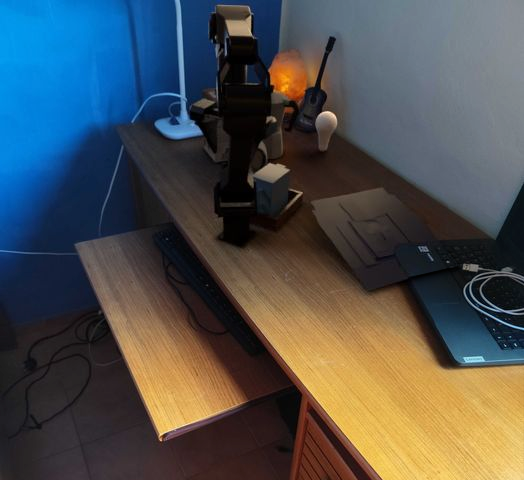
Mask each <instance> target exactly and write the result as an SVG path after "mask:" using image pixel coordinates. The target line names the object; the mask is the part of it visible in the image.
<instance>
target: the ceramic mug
mask: <svg viewBox="0 0 524 480" xmlns="http://www.w3.org/2000/svg"><path fill="white" fill-rule="evenodd" d="M266 165H268V159H267V151H266V147H265V145H264V143H263V142H262V141H261V143H260V145H259V147H258V149H257V152H256V154H255V157H254V159H253V162H252V163H251V170H252V171H253V175H254V174H255V173H256V172H258V171H259V170H261V169H262V168H263V167H265V166H266Z"/></svg>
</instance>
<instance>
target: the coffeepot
mask: <svg viewBox="0 0 524 480" xmlns="http://www.w3.org/2000/svg"><path fill="white" fill-rule="evenodd" d="M271 101H272V105H271V116H272V117H275V119H276V121H277V131H276V132H274V133H273V134H272V135H270V136H269V137H268V138H267V139H263V140H262V142H263V143H264V145H265V147H266V151H267V160H275V159H279V158H280V157H282V156H283V152H284V143H283V132H282V125H283V120H284V116H285V111H286V108H292V110H293V111H292V112H291V113H292V114H291V118H290V120H289V123H288V127H286V126H284V127H283V130H284V131H285V132H287V133H291V132H292V131H293V129H294V127H295V124H296V122H297V119H298V117H299V115H300V113H301V107H300V106H299V104H298V102H297V100H294V99H291V98H288V95H286V94H284V93H282V92H280V91H275V85H274V84H271Z"/></svg>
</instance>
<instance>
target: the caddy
mask: <svg viewBox="0 0 524 480" xmlns="http://www.w3.org/2000/svg"><path fill="white" fill-rule="evenodd" d="M303 199H304V192H302V191H299V190H295V189H292V188H289V190H288V201H287V206H286V207H285V208H284V209H283V210H282V211H281V212H280V213H279V214H278V215H277V216H276V217H272V216H269V215H266V214H263V213H260V212H257V217H250V223H251V224H253V225H256V226H259V227H263V228H265V229H268V230H271V231H274V232H276V231H277V230H279V228H280V227H281V226H282V225H284V223H285V222H287V220H288V219H289V218H290V217H291V216H292V215H293V214H294V213H295V212H296V211H297V210H298V209H299V208H300V207H301V205H302V204H303ZM246 204H250V203H246Z"/></svg>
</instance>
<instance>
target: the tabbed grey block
mask: <svg viewBox="0 0 524 480" xmlns="http://www.w3.org/2000/svg"><path fill="white" fill-rule="evenodd" d="M290 178H291V169H289V168H287V166H286V165H283V164H280V163H276V164H274V163H271V162H269V163H267V165H266V166H265V167H263V168H262V169H261V170H259V171H258V172H256V173H255V174H254V175H253V180H255V181H256V193H257V212H260V213H263V214H266V215H269V216H272V217H276V216H277V215H278V214H279V213H280V212H281V211H282V210H283V209H284V208H285V207H286V206H287V201H288V190H289V189H290V181H291V180H290ZM250 204H252V202H251V203H250Z"/></svg>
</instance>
